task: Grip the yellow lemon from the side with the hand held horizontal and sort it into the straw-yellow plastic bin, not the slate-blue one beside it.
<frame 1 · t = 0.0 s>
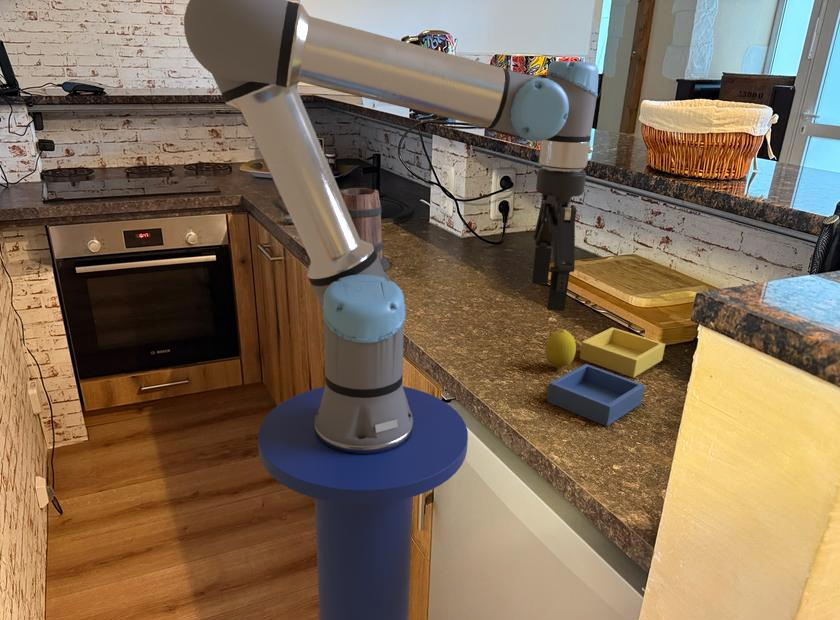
hand: (547, 296, 116), 17 cm above the worktop, tool pointing down, fingers open, 13 cm apart
figurine: (291, 224, 227), on the worktop
tankard: (358, 261, 190), on the worktop
blue bin: (594, 402, 117), on the worktop
yellow bin: (620, 359, 134), on the worktop
lemon: (557, 369, 129), on the worktop
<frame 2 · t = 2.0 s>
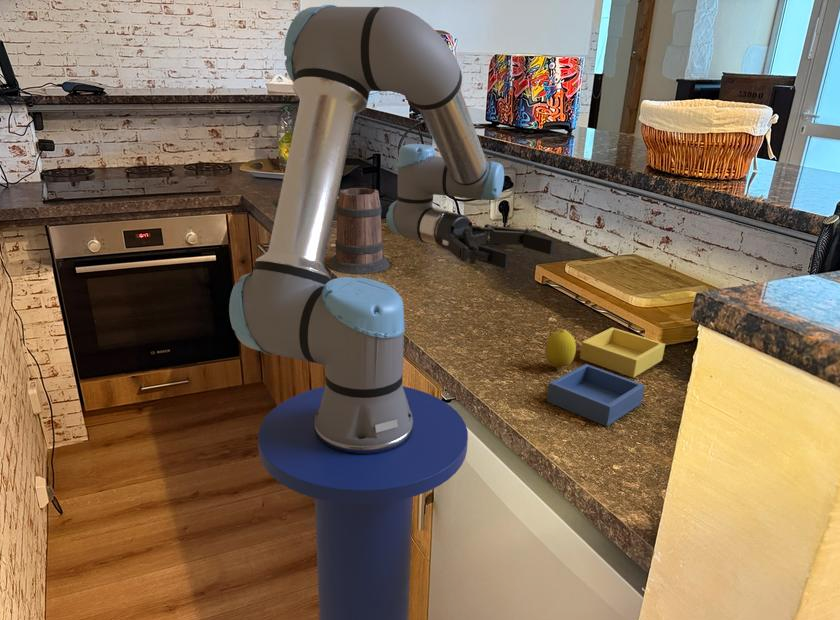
hand: (530, 253, 126), 21 cm above the worktop, tool horizontal, fingers open, 13 cm apart
nothing on the worktop moved.
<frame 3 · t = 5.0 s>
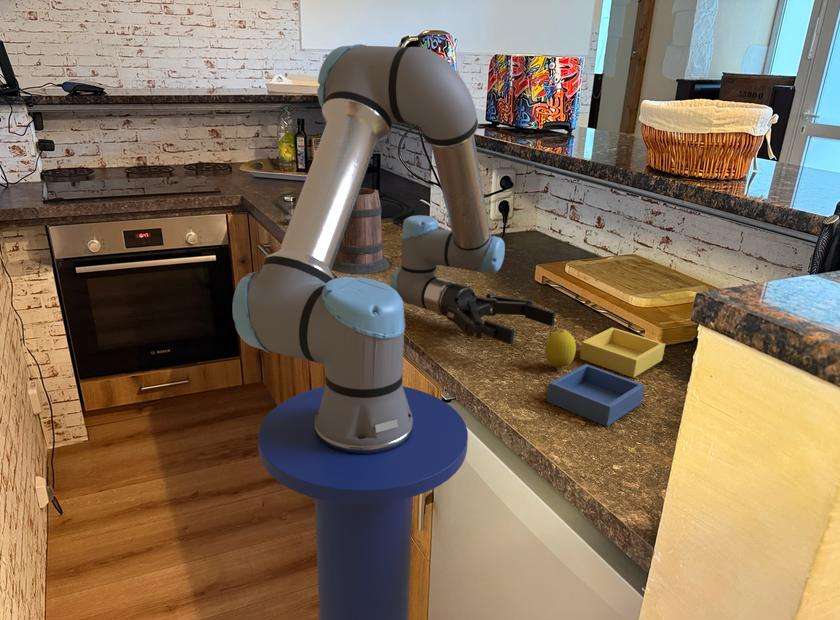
hand: (533, 328, 130), 6 cm above the worktop, tool horizontal, fingers open, 13 cm apart
nothing on the worktop moved.
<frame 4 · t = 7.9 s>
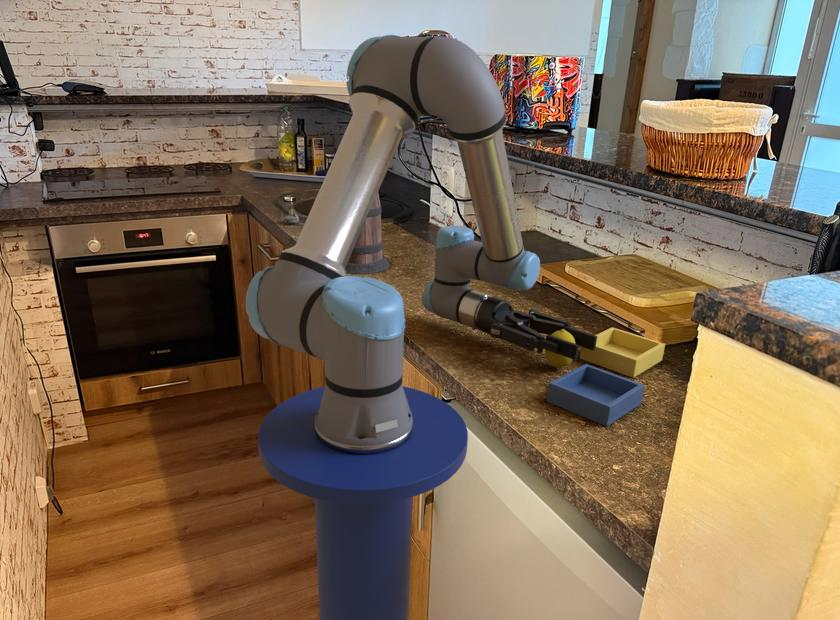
hand: (586, 347, 123), 6 cm above the worktop, tool horizontal, fingers closed on lemon, 5 cm apart
lemon: (557, 369, 129), on the worktop, touching gripper
everything else where it was.
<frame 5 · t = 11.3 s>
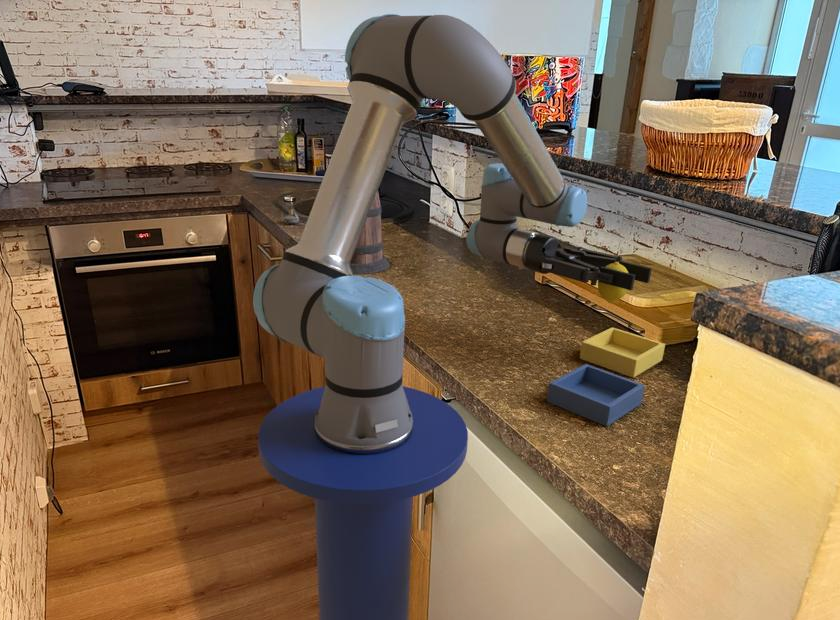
hand: (641, 279, 121), 18 cm above the worktop, tool horizontal, fingers closed on lemon, 5 cm apart
lemon: (610, 304, 127), point 12 cm above the worktop, touching gripper
everything else where it was.
when the fingers open (7 cm above the worktop, at t = 14.8 s): lemon stays where it is, resting on yellow bin.
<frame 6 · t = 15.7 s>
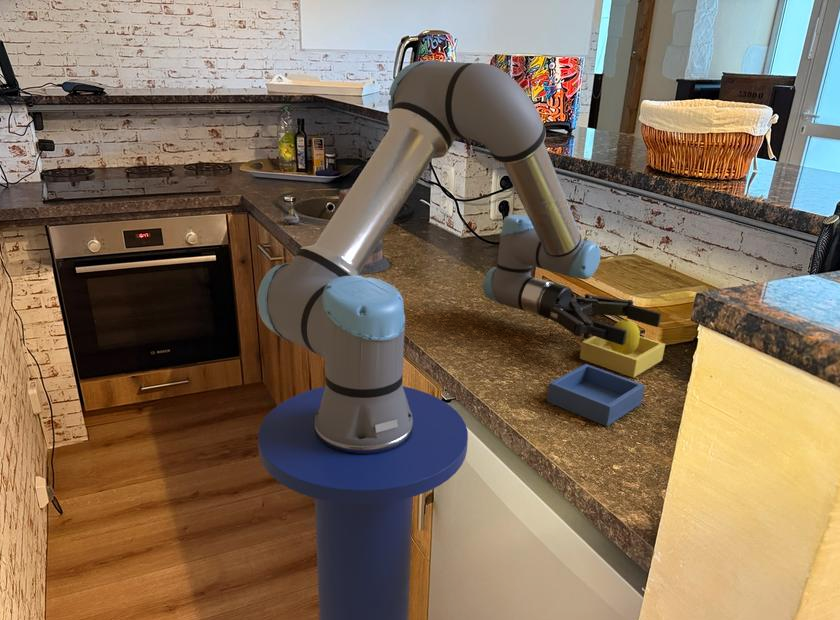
hand: (642, 328, 128), 8 cm above the worktop, tool horizontal, fingers open, 13 cm apart
lemon: (621, 357, 133), resting on yellow bin
everything else where it was.
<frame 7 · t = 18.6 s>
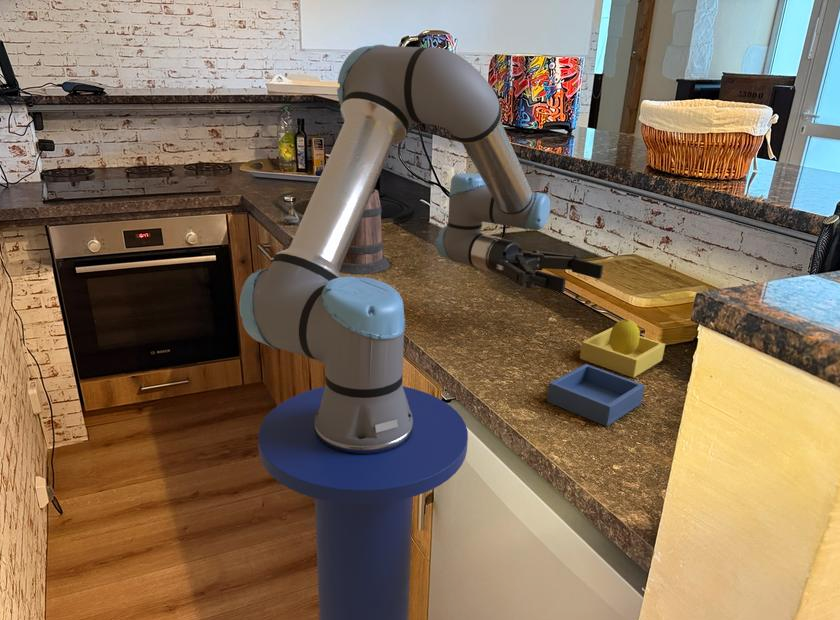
hand: (583, 278, 132), 15 cm above the worktop, tool horizontal, fingers open, 13 cm apart
nothing on the worktop moved.
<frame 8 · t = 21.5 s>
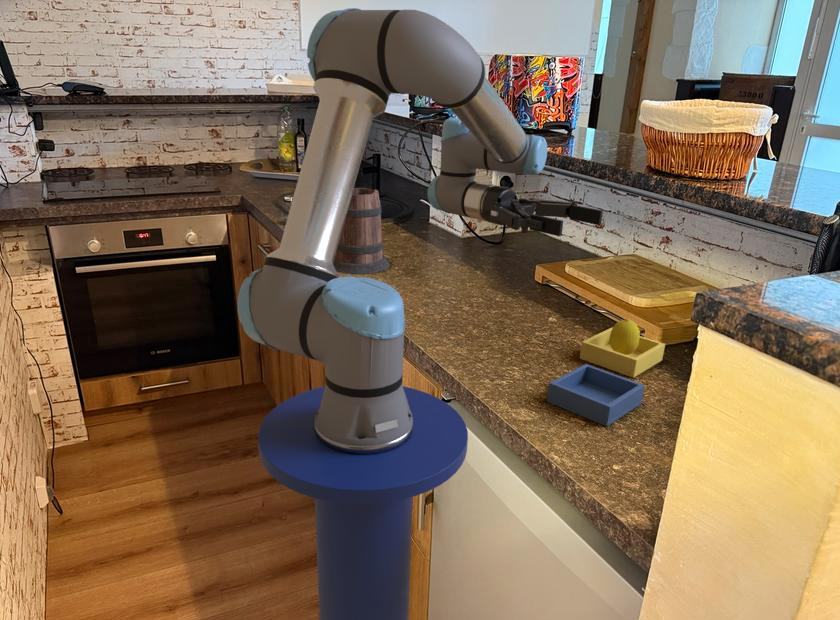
hand: (582, 223, 126), 26 cm above the worktop, tool horizontal, fingers open, 13 cm apart
nothing on the worktop moved.
at the end: lemon inside the target area in the yellow bin (0.0 cm from its centre), point 0.4 cm above the yellow bin's base; lemon touching yellow bin; the gripper is holding nothing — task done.
